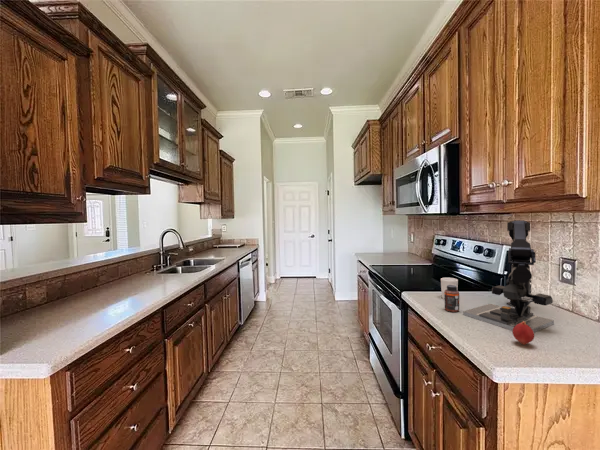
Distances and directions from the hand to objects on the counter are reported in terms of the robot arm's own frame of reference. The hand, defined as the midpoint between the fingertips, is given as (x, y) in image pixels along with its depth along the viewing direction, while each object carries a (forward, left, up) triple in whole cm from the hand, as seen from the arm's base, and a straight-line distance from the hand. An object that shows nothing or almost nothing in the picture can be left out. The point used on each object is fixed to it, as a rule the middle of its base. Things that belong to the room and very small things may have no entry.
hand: (520, 315), depth 114 cm
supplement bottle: (+9, -23, -3) cm, 25 cm away
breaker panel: (0, -5, -3) cm, 6 cm away
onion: (+19, +10, -3) cm, 22 cm away
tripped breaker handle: (0, -5, 0) cm, 5 cm away
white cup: (-6, -35, -3) cm, 36 cm away
